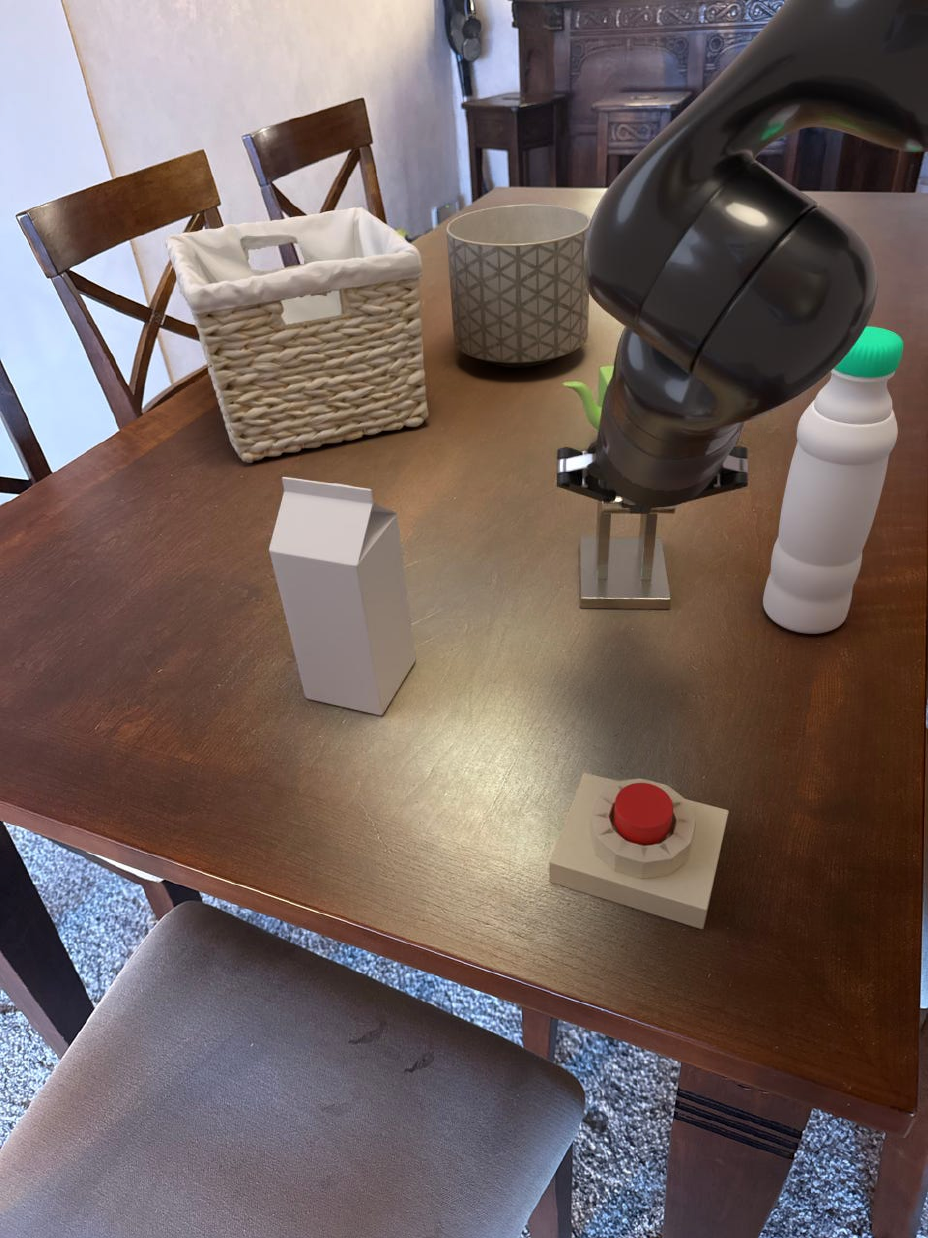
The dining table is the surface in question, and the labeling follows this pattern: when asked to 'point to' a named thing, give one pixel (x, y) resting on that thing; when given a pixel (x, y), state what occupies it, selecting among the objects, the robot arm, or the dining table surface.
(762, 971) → the dining table surface
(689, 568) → the dining table surface
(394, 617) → the milk carton
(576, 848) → the box
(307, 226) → the basket
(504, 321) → the planter
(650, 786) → the button
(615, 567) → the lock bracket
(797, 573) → the water bottle
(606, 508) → the lever
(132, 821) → the dining table surface
